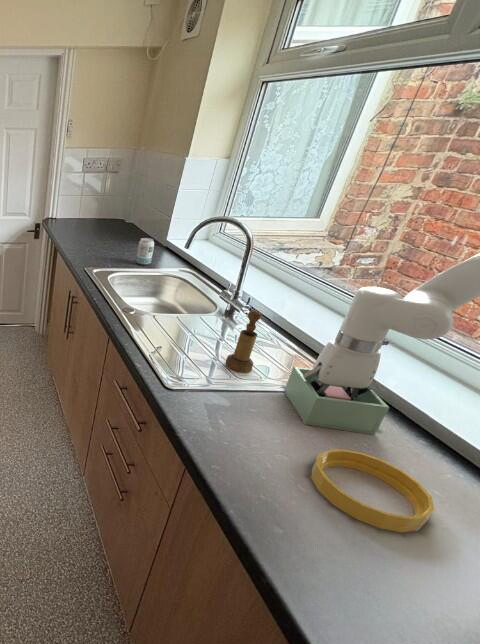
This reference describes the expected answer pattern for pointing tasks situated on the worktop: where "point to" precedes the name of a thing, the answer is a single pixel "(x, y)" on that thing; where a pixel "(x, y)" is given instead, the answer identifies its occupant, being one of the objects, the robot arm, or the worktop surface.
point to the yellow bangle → (382, 471)
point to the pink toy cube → (336, 393)
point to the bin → (334, 406)
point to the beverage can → (145, 251)
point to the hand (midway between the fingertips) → (328, 405)
